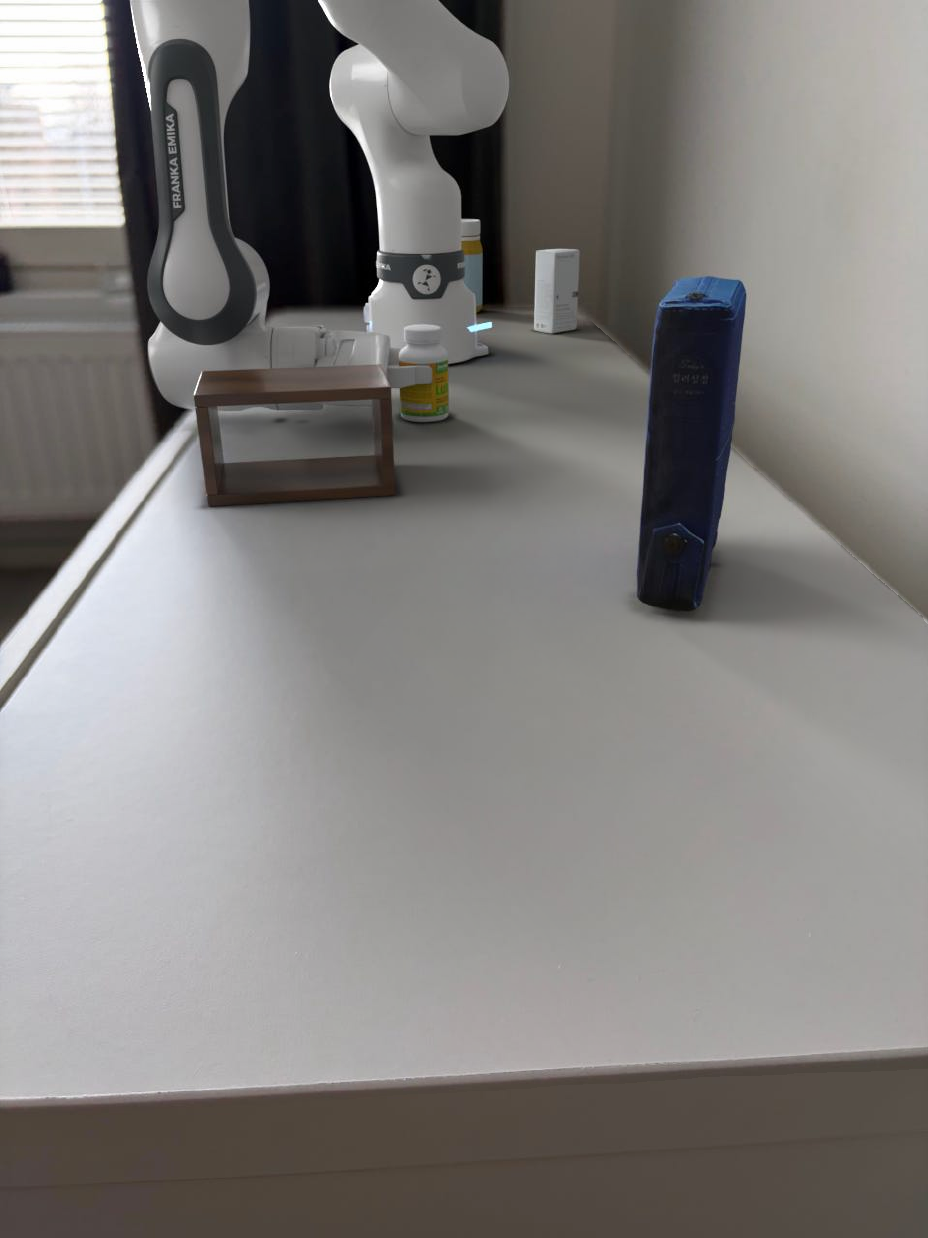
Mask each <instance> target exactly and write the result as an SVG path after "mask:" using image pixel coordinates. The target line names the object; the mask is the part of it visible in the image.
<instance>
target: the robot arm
mask: <svg viewBox="0 0 928 1238" xmlns="http://www.w3.org/2000/svg"><path fill="white" fill-rule="evenodd" d="M317 1H318V3H319V5H320V6H321V8H322V10H323V12H324V14H325V15H326V17H327V19H328V21H329V23H330V24H331V25H332V26H333V28H335V29H336V31H338V32H339V33H340V34H341V35H343V36H344V37H346V38H348V39H349V40H351V41H353V42H354V43H357V45H354V46H352V47H349V48H348V49H345V50H344V51H342V52H340V54H338V56H337V58H336V59H335V61H334V63H333V65H332V68H331V72H330V78H329V94H330V98H331V102H332V105H333V108H334V110H335V113H336V114H337V117H338V118H339V119H340V120H341V122H342V123H343V124H344V125H345V126H346V127H347V128H348V129H349V130H350V131H351V132H352V134H353V135H354V136H355V138H356V139H357V142H358V143H359V145H360V147H361V149H362V151H363V153H364V156H365V158H366V161H367V163H368V166H369V170H370V173H371V177H372V181H373V186H374V190H375V197H376V208H377V222H378V223H377V224H378V241H379V249H378V250H377V252H376V261H375V267H376V277H377V279H378V284H377V286H376V287H375V289H374V290H373V291H372V292H371V295H369V296H368V302H366V303H365V305H364V306H363V322H364V323H365V324H366V327H365V331H358V330H357V331H356V330H339V329H338V330H336V329H335V330H334V329H333V330H326V327H325V325H322V324H310V325H306V326H305V325H301V326H296V325H295V326H268V325H267V324H266V319H267V318H266V317H267V312H268V311H267V310H268V300H269V296H270V287H271V286H270V277H269V273H268V269H267V267H266V264H265V263H264V261H263V258H262V257H261V255H260V254H259V253H258V251H256V249H255V248H254V247H253V246H252V245H250V244H249V243H247V242H246V241H244V240H243V239H240V238H238V237H237V236H236V237H235V235H234V234H233V230H232V226H231V221H230V209H229V198H228V196H229V195H228V186H227V185H228V183H227V171H226V157H225V143H224V142H225V139H224V137H225V135H224V133H225V124H226V118H227V113H228V111H229V107H230V105H231V104H232V103H231V102H232V101H233V99H234V97H235V95H236V94H237V92H238V91H239V89H240V88H242V86H243V85H244V83H245V80H246V79H247V77H248V73H249V65H250V54H251V53H250V50H251V12H250V11H251V10H250V0H129V4H130V9H131V16H132V23H133V28H134V33H135V39H136V44H137V48H138V54H139V58H140V62H141V67H142V72H143V76H144V77H143V78H144V82H145V83H144V84H145V88H146V93H147V98H148V103H149V108H150V120H151V122H150V123H151V133H152V145H153V157H154V169H155V181H156V193H157V194H156V195H157V204H158V205H157V206H158V231H157V235H156V236H157V237H156V241H155V244H154V249H153V251H152V252H153V253H152V255H151V259H150V262H149V266H148V269H147V270H148V271H147V276H146V288H147V295H148V300H149V303H150V305H151V308H152V310H153V312H154V313H155V315H156V317H157V319H158V320H159V321H160V322H159V323H158V326H157V327H156V329H155V331H154V333H153V334H152V335H151V336H150V338H149V339H148V341H147V363H148V367H149V371H150V374H151V375H150V376H151V377H152V380H153V383H154V385H155V387H156V389H157V390H158V392H159V394H160V395H161V397H163V399H164V400H165V401H167V402H168V403H169V404H170V405H172V406H175V407H177V408H181V409H185V410H192V411H196V410H195V408H196V407H195V403H194V393H195V390H196V387H197V384H198V381H199V378H200V375H201V372H202V371H222V370H248V369H273V368H299V367H324V366H350V365H375V364H381V365H382V368H383V370H384V372H385V375H386V377H387V379H388V382H389V384H390V386H391V389H400V388H402V387H407V386H411V385H415V384H430V383H431V382H432V367H431V365H429V364H415V366H399V352H400V350H401V349H402V348H404V347H406V346H407V342H405V339H404V328H405V327H406V326H410V325H420V324H427V325H436V326H439V327H441V341H440V342H439V345H440V346H442V347H444V348H445V349H446V350H447V353H448V365H450V364H451V365H452V364H457V363H462V362H466V361H468V360H471V359H473V358H477V357H482V356H486V355H489V347H488V345H486V344H484V343H481V342H479V341H478V331H482V330H486V329H491V328H493V322H492V321H488V322H484V323H479V324H478V323H477V313H476V299H475V294H474V293H472V291H471V290H470V289H469V288H468V287H467V286H466V285H465V283H464V281H463V278H464V277H465V258H464V251H463V250H462V249H461V219H462V194H461V189H460V185H458V183H457V181H456V179H455V178H454V177H453V176H452V175H451V174H449V173H448V172H447V171H445V170H444V169H443V168H442V167H441V165H440V164H439V162H438V160H437V158H436V156H435V154H434V150H433V147H432V143H431V138H430V136H461V135H466V134H470V133H472V132H473V133H474V132H477V131H479V130H483V129H485V128H489V127H492V126H493V125H494V124H495V123H496V122H497V121H498V120H499V118H500V117H501V115H502V113H503V111H504V110H505V107H506V104H507V101H508V97H509V90H510V76H509V70H508V66H507V62H506V61H505V58H504V55H503V54H502V52H501V50H500V49H499V47H498V46H497V44H495V43H494V42H493V41H492V40H490V39H489V38H486V37H484V36H483V35H480V34H478V33H477V32H475V31H473V30H472V29H471V28H469V27H467V26H466V25H465V24H464V23H462V22H461V21H460V20H459V19H458V18H457V17H456V16H454V14H452V12H450V11H449V10H448V8H446V7H445V5H444V4H443V3H442V2H440V0H317ZM324 405H325V406H326V405H327V406H339V407H340V406H342V407H372V400H351V401H329V402H306V403H284V404H261V405H239V406H217V409H218V412H241V411H245V410H249V409H252V408H265V409H269V410H272V411H320V410H322V409H323V408H324Z"/></svg>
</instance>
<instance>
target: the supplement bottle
mask: <svg viewBox="0 0 928 1238" xmlns="http://www.w3.org/2000/svg"><path fill="white" fill-rule="evenodd" d="M404 339H405V342H407V346H406V347H404V348H402V349H401V350H400V352H399V366H415V364H429V365H431V367H432V382H431V383H430V384H415V385H411V386H407V387H402V388H399V407H400V408H399V409H400V416H401V418H402V419H404V420H406V421H408V422H413V423H431V422H440V421H443V420H445V419H446V418H448V416H449V413H450V411H449V410H450V409H449V408H450V406H449V405H450V404H449V403H450V401H449V398H450V397H449V395H450V394H449V392H450V391H449V364H448V353H447V350H446V349H445V348H444V347H442V346H440V345H439V342H440V341H441V327H439V326H436V325H427V324H420V325H410V326H406V327H405V328H404Z"/></svg>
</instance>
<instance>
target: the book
mask: <svg viewBox="0 0 928 1238" xmlns="http://www.w3.org/2000/svg"><path fill="white" fill-rule="evenodd" d="M746 303H747V291H746V288H745V285H744V283H743V282H742V281H741V280H740V279H731V278H724V277H723V278H722V277H717V276H713V275H712V276H711V275H706V276H698V277H697V276H696V277H680V278H677V279H676V281H675V282H674V283H673V285H672V287H671V289H670V291H669V292H667V293H666V295H664V296H663V298H662V299H661V300H660V302H659V304H658V306H657V309H656V315H655V317H654V319H655V322H654V326H653V328H654V329H653V339H652V348H651V361H650V370H649V371H650V372H649V389H648V400H647V403H648V404H647V417H646V434H645V435H646V436H645V446H644V461H643V462H644V463H643V475H642V476H643V478H642V493H641V494H642V495H641V505H640V517H639V518H640V519H639V537H638V538H639V539H638V549H637V550H638V551H637V552H638V553H637V563H636V564H637V565H636V597H637V599H638V601H639V602H641V603H642V604H644V605H646V606H648V607H649V606H650V607H655V608H659V609H665V610H668V611H672V612H688V613H691V612H694V611H695V610H697V609H698V608H699V607H700V606H701V605H702V601H703V598H704V597H703V595H704V590H705V587H706V583H707V579H708V576H709V572H710V570H711V565H712V558H713V557H712V556H713V552H714V549H715V547H716V545H717V541H718V534H719V524H720V520H721V517H722V512H723V506H724V501H725V493H726V491H725V490H726V481H727V475H728V474H727V473H728V467H729V461H730V456H731V450H732V441H733V431H734V425H735V420H736V400H737V393H738V383H739V374H740V373H739V372H740V364H741V355H742V344H743V333H744V326H745V324H744V323H745V318H746V305H747V304H746Z"/></svg>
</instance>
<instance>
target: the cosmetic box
mask: <svg viewBox="0 0 928 1238" xmlns="http://www.w3.org/2000/svg"><path fill="white" fill-rule="evenodd" d="M580 253H581V252H580V250H579V249H575V248H549V249H540V250H538V249H537V250H536V251H535V275H534V278H535V279H534V313H533V314H534V315H533V318H534V319H533V321H534V322H533V330H534V331H536V332H540V333H545V334H556V333H562V332H568V331H574V330H577V328H578V302H579V278H580Z"/></svg>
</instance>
